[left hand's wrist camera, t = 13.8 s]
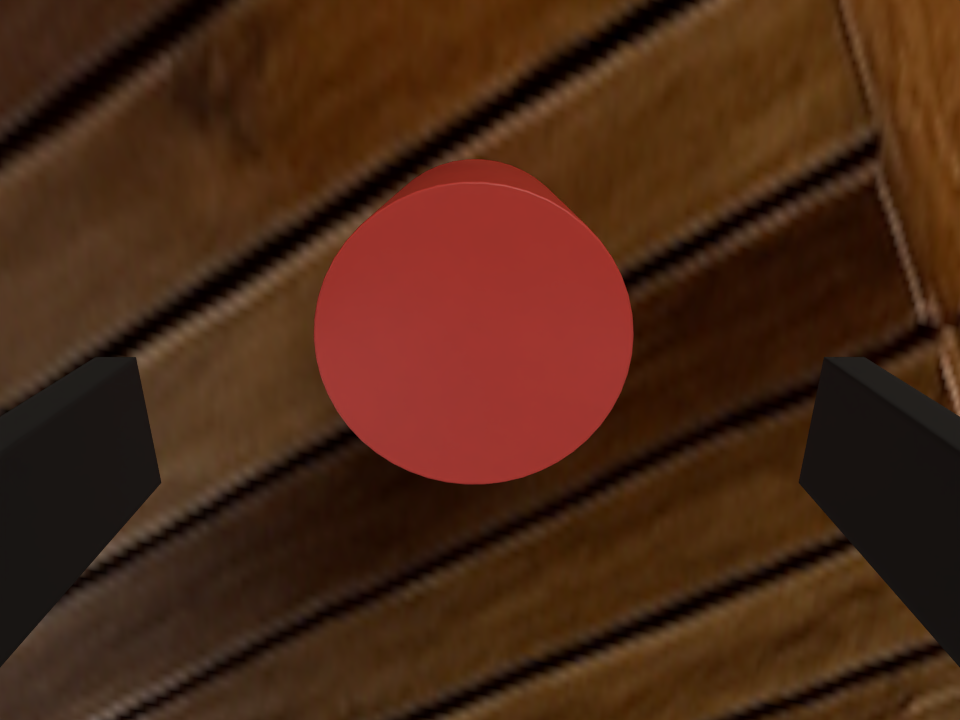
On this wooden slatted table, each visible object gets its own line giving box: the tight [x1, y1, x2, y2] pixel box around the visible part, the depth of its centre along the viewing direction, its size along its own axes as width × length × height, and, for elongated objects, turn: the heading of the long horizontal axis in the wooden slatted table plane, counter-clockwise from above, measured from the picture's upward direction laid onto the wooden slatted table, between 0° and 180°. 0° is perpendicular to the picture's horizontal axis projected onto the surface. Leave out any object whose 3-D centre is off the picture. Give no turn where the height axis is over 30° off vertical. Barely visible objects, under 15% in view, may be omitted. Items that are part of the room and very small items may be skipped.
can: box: [314, 159, 633, 484], centre depth 22 cm, size 8×8×10 cm
